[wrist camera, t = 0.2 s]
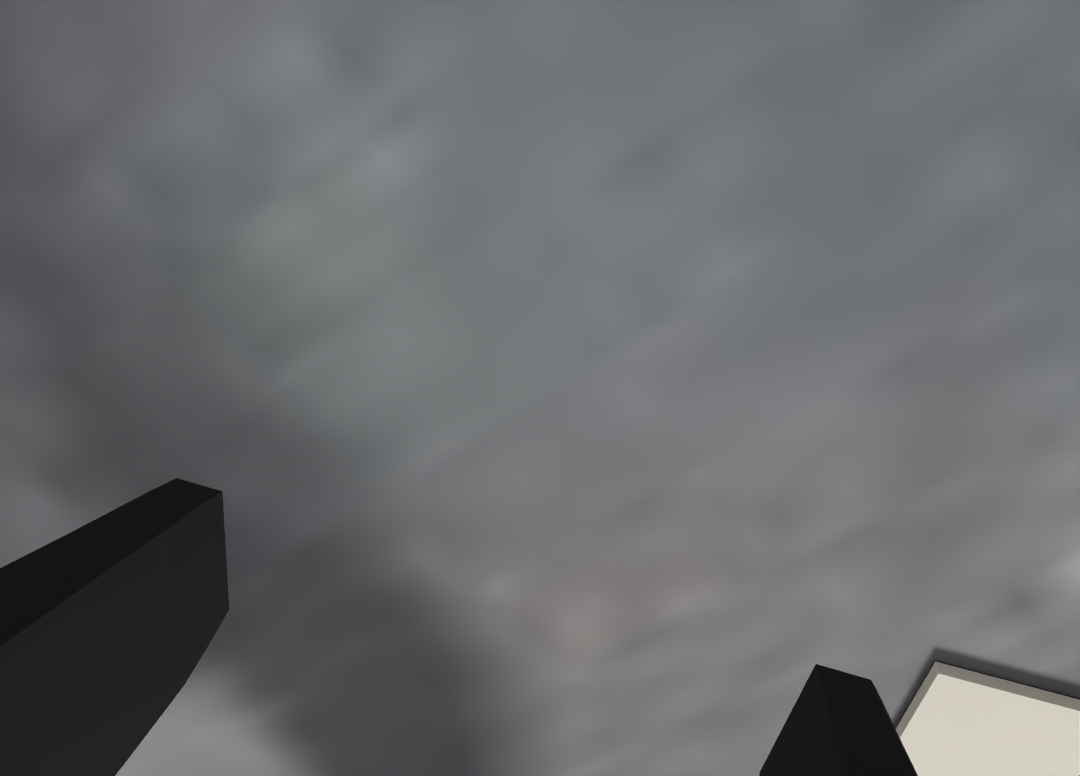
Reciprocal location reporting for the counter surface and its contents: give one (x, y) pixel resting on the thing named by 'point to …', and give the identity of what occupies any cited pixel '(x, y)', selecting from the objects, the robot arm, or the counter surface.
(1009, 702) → the mat
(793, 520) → the counter surface
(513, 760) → the counter surface
